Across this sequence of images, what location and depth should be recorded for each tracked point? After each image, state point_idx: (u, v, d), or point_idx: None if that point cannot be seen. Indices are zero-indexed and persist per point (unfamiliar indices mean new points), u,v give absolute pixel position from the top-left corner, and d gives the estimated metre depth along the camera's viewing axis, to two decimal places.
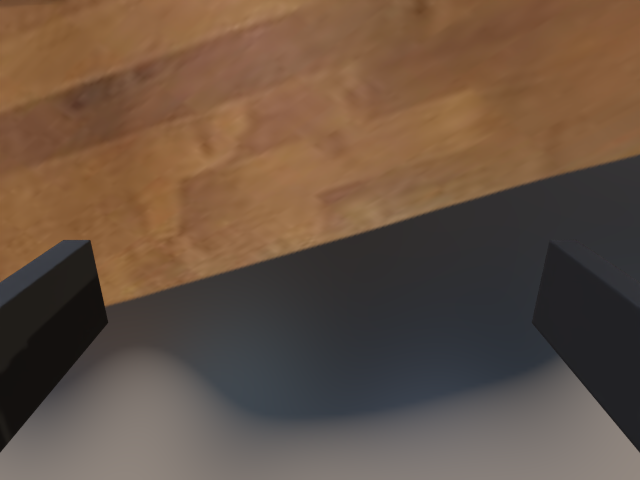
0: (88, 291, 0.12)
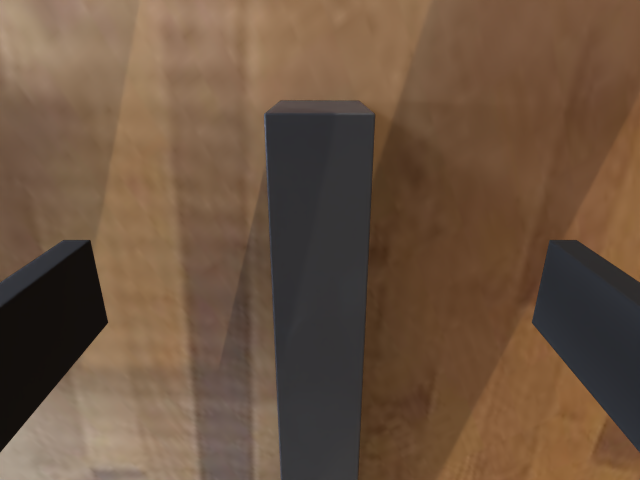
0: (88, 291, 0.12)
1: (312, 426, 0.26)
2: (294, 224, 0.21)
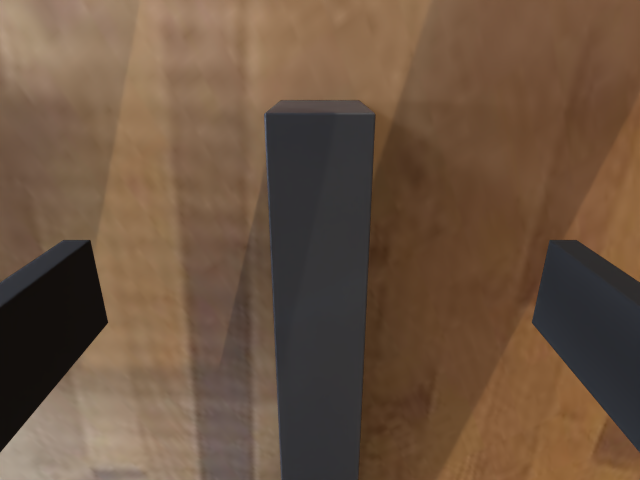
0: (88, 291, 0.12)
1: (312, 426, 0.26)
2: (294, 224, 0.21)
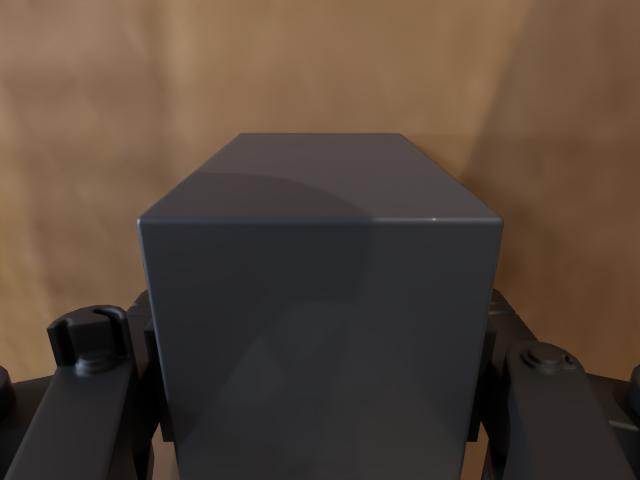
0: None
1: None
2: None
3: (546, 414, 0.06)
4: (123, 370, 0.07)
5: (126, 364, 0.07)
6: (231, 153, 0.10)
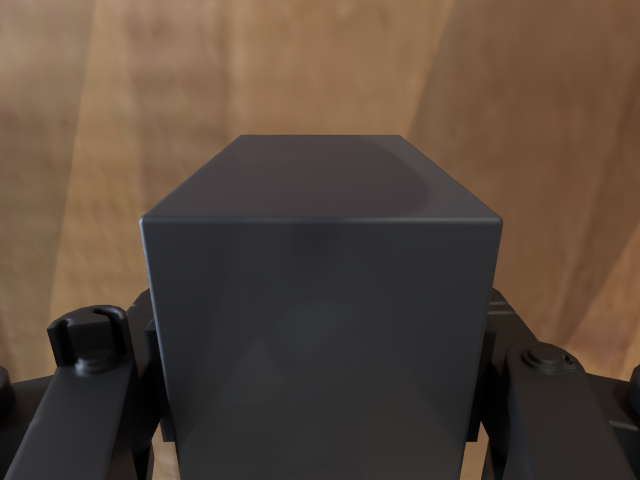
0: None
1: None
2: None
3: (546, 414, 0.06)
4: (123, 370, 0.07)
5: (126, 364, 0.07)
6: (232, 154, 0.10)
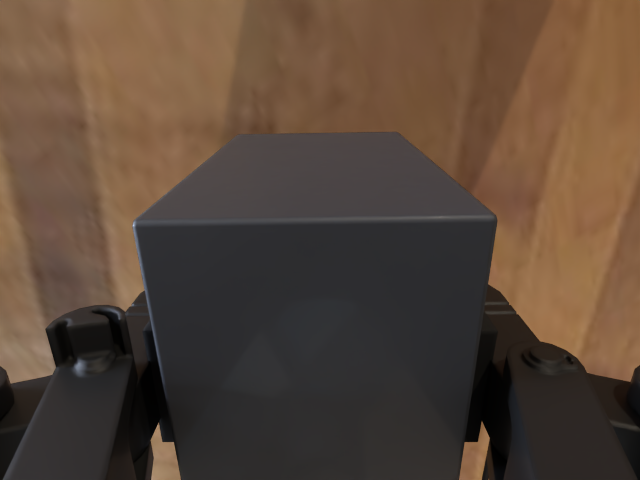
0: None
1: None
2: None
3: (547, 414, 0.06)
4: (122, 370, 0.07)
5: (125, 364, 0.07)
6: (228, 154, 0.10)
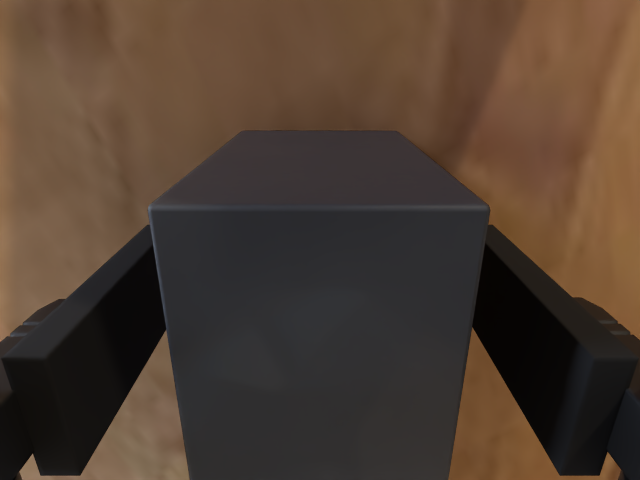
0: None
1: None
2: (252, 474, 0.08)
3: None
4: None
5: None
6: (234, 148, 0.10)
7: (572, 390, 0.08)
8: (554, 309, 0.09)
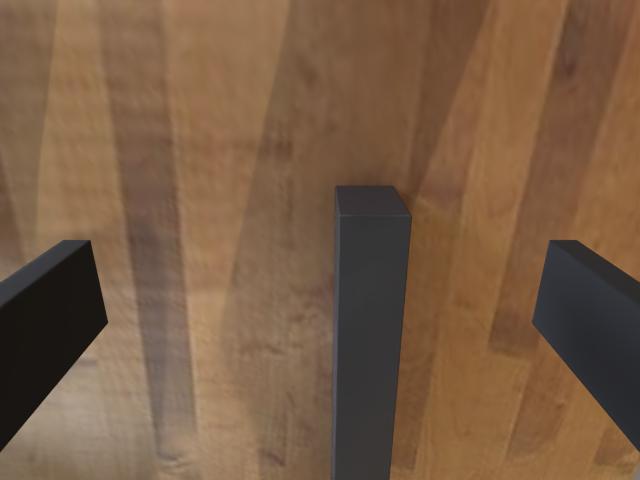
0: (88, 291, 0.12)
1: (359, 421, 0.36)
2: (355, 284, 0.31)
3: None
4: None
5: None
6: (342, 196, 0.34)
7: None
8: None
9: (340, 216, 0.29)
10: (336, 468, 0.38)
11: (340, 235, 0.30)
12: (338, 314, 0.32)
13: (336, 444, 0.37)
